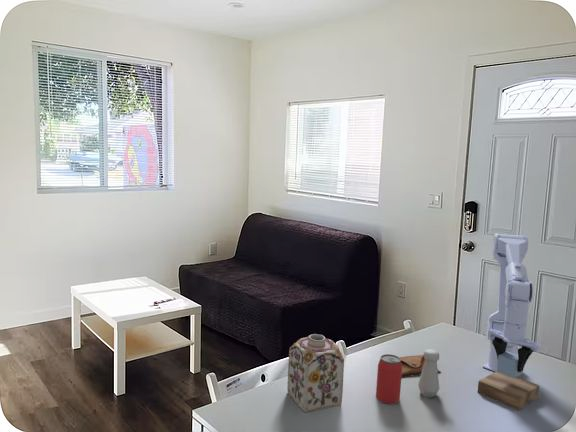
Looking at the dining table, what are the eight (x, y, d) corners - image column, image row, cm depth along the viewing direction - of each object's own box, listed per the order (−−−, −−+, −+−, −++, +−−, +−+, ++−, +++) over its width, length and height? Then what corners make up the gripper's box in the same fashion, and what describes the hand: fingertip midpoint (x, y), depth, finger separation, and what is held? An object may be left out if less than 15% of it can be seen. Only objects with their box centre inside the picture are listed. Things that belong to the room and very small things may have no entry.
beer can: (385, 407, 131) (388, 365, 129) (370, 395, 137) (373, 355, 135) (404, 402, 134) (407, 361, 132) (389, 391, 140) (392, 351, 138)
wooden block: (497, 382, 149) (498, 370, 149) (537, 398, 140) (539, 385, 139) (477, 393, 141) (478, 380, 141) (518, 411, 132) (519, 397, 132)
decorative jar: (286, 392, 137) (288, 331, 134) (322, 385, 141) (325, 326, 139) (304, 414, 126) (307, 348, 124) (343, 406, 131) (346, 342, 128)
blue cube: (505, 367, 143) (507, 351, 142) (522, 373, 139) (524, 357, 139) (496, 371, 140) (498, 355, 139) (514, 378, 136) (515, 361, 135)
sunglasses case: (394, 379, 147) (389, 356, 149) (383, 381, 153) (378, 359, 156) (443, 372, 153) (438, 350, 156) (430, 374, 159) (425, 353, 162)
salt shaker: (439, 400, 136) (443, 356, 134) (418, 397, 137) (422, 353, 135) (437, 390, 142) (441, 348, 140) (417, 387, 143) (420, 345, 141)
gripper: (484, 317, 141) (479, 361, 142) (535, 333, 130) (529, 380, 131) (496, 312, 145) (491, 355, 147) (546, 327, 134) (541, 374, 136)
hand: (510, 367), depth 139 cm, fingers closed on blue cube, 5 cm apart
